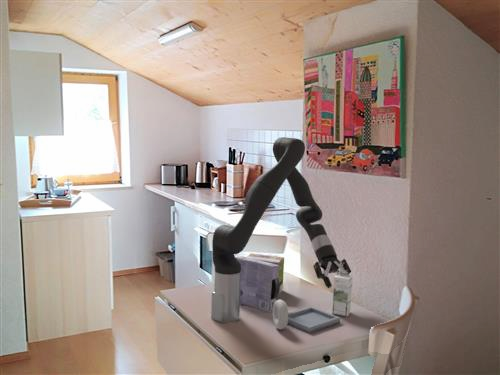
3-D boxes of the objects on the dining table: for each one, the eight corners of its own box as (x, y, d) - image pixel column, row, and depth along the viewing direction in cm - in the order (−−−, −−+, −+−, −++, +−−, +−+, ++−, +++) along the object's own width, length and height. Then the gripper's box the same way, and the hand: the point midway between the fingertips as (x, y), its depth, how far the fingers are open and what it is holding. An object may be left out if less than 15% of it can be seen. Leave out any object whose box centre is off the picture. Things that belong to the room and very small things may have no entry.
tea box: (242, 293, 212) (243, 258, 210) (249, 286, 221) (250, 252, 220) (277, 297, 208) (279, 261, 206) (283, 290, 217) (284, 256, 215)
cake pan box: (279, 309, 194) (281, 264, 192) (272, 313, 189) (274, 266, 187) (239, 298, 205) (240, 255, 203) (231, 301, 201) (232, 257, 199)
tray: (309, 333, 172) (309, 327, 172) (280, 320, 182) (280, 315, 182) (340, 322, 182) (340, 317, 182) (310, 311, 193) (311, 306, 193)
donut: (288, 334, 171) (290, 304, 170) (279, 334, 170) (280, 305, 169) (280, 322, 181) (281, 295, 179) (270, 323, 180) (272, 295, 179)
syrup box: (350, 312, 193) (353, 274, 192) (346, 317, 188) (349, 278, 186) (336, 309, 196) (338, 272, 194) (331, 314, 190) (333, 276, 189)
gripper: (312, 245, 196) (328, 283, 187) (343, 242, 202) (359, 279, 193) (304, 255, 201) (319, 292, 192) (334, 252, 207) (350, 288, 199)
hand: (339, 285), depth 193 cm, fingers open, 8 cm apart
